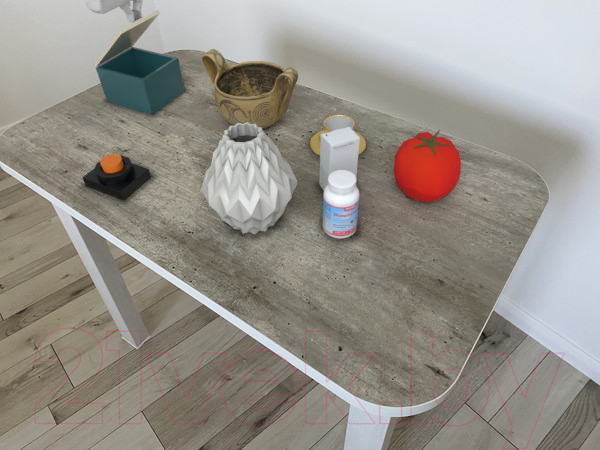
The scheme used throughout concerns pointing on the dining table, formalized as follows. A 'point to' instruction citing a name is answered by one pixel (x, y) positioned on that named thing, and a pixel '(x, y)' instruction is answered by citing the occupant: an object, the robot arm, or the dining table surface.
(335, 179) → the pill bottle
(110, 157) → the flush button
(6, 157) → the dining table surface
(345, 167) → the cosmetic box
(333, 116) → the cup
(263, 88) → the ceramic bowl
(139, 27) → the beige flat rectangular panel
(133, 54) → the teal hollow open box
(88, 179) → the push button housing
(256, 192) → the vase
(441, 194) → the tomato
